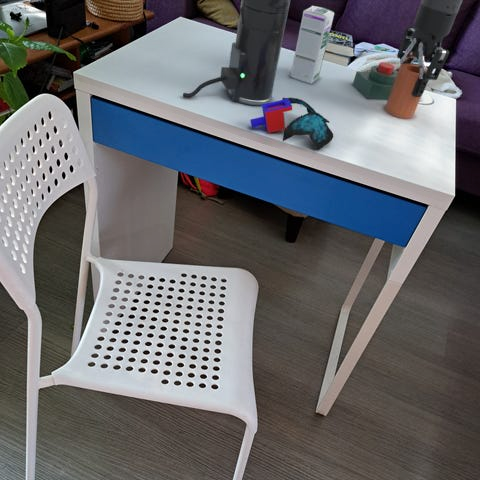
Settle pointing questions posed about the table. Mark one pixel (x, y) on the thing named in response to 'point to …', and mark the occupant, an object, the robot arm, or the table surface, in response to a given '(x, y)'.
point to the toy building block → (273, 115)
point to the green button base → (374, 83)
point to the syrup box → (311, 43)
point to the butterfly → (309, 126)
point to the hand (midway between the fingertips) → (407, 89)
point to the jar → (404, 92)
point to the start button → (385, 68)
